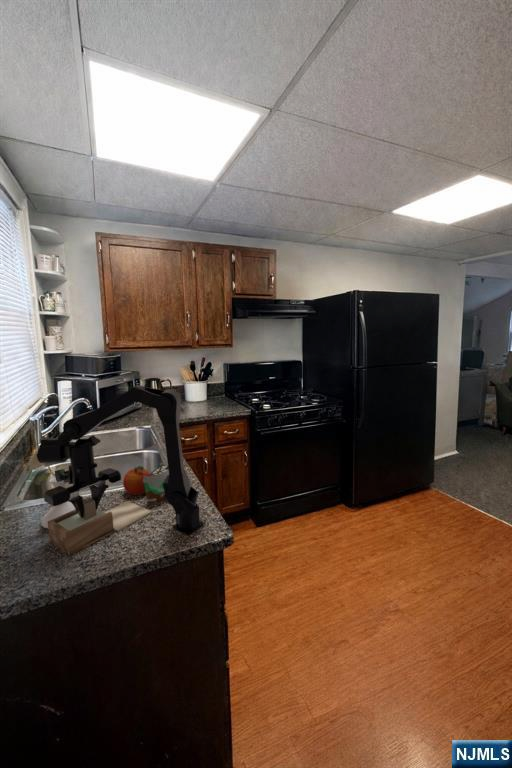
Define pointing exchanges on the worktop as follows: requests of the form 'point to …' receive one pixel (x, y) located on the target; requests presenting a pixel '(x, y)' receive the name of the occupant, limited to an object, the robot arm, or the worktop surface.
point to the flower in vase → (61, 508)
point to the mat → (127, 515)
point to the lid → (88, 515)
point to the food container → (156, 484)
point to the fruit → (135, 481)
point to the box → (79, 532)
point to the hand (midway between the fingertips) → (88, 514)
